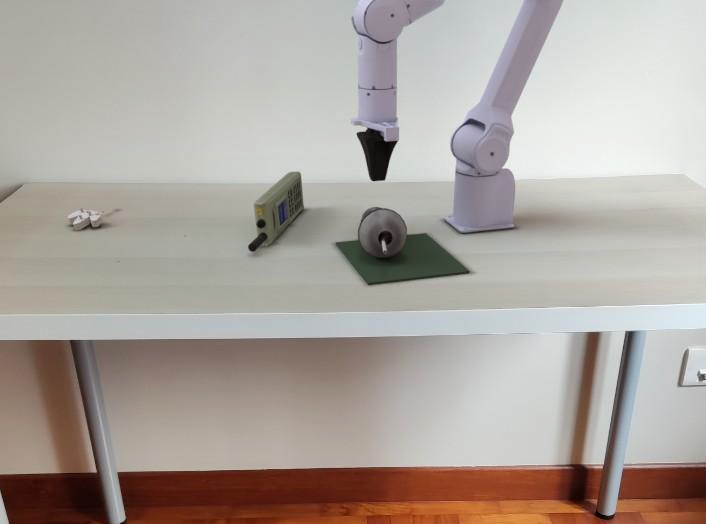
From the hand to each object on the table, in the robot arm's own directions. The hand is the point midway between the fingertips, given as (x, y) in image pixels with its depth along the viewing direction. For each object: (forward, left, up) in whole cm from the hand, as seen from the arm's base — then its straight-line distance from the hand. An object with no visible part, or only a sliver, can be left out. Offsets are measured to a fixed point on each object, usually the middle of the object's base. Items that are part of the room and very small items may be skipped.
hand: (377, 179), depth 126 cm
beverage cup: (0, -1, -7) cm, 7 cm away
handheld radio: (+15, -8, -9) cm, 19 cm away
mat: (0, +11, -9) cm, 14 cm away
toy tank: (+43, -23, -9) cm, 49 cm away
